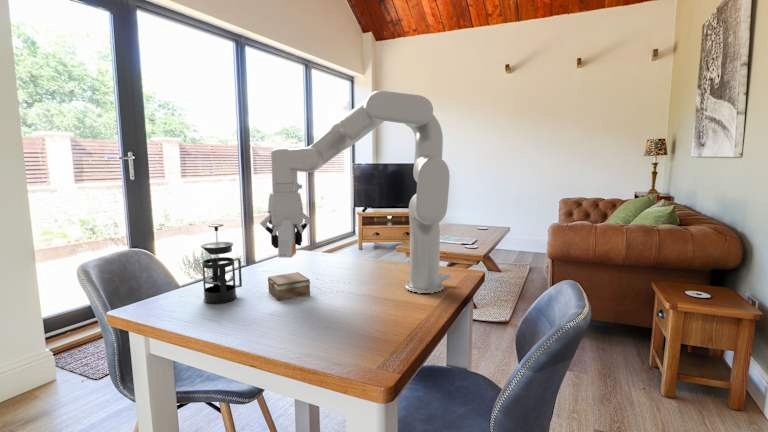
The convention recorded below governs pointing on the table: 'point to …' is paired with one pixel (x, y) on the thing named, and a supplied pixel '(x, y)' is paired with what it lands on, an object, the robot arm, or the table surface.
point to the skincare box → (286, 239)
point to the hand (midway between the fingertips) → (287, 245)
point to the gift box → (289, 286)
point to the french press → (220, 272)
